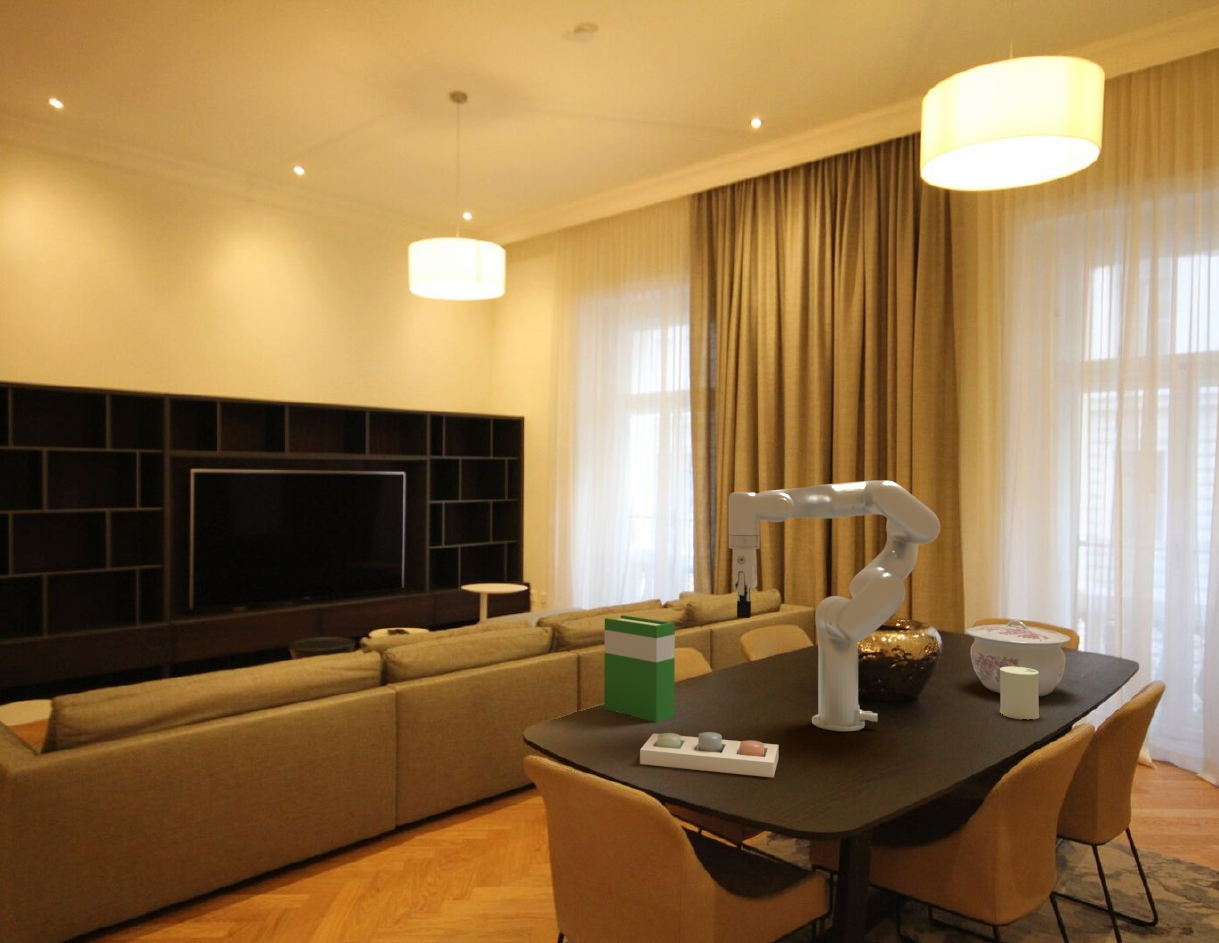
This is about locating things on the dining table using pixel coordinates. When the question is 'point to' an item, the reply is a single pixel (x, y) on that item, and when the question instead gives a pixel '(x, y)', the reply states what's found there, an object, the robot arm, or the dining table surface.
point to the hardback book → (640, 667)
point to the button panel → (710, 757)
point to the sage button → (669, 740)
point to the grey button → (710, 742)
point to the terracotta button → (752, 748)
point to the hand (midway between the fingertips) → (744, 617)
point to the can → (1019, 692)
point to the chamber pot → (1017, 653)
